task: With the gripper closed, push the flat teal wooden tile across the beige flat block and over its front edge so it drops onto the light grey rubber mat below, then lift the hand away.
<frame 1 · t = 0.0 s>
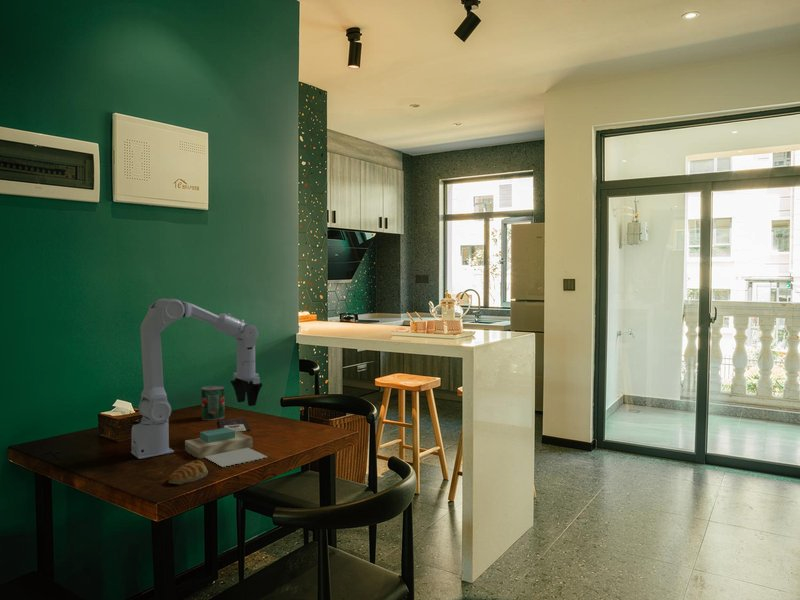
hand: (246, 403, 178), 10 cm above the table, tool pointing down, fingers open, 7 cm apart
beige flat block: (219, 449, 163), on the table
canned tomato: (213, 418, 203), on the table
mat: (235, 457, 155), on the table
pastry: (188, 480, 139), on the table
tile: (217, 434, 164), point 4 cm above the table, touching beige flat block
chocolate bar: (233, 428, 191), on the table
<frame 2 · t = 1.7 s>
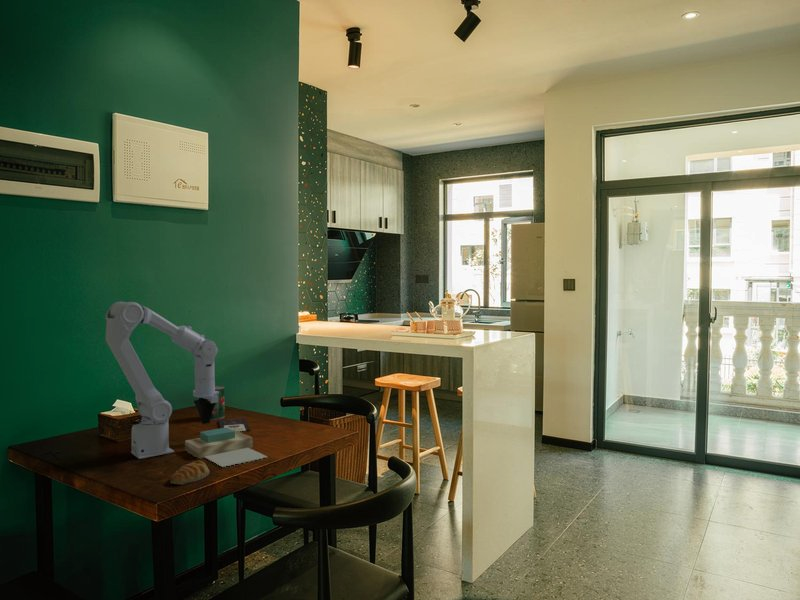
hand: (205, 423, 171), 6 cm above the table, tool pointing down, fingers closed
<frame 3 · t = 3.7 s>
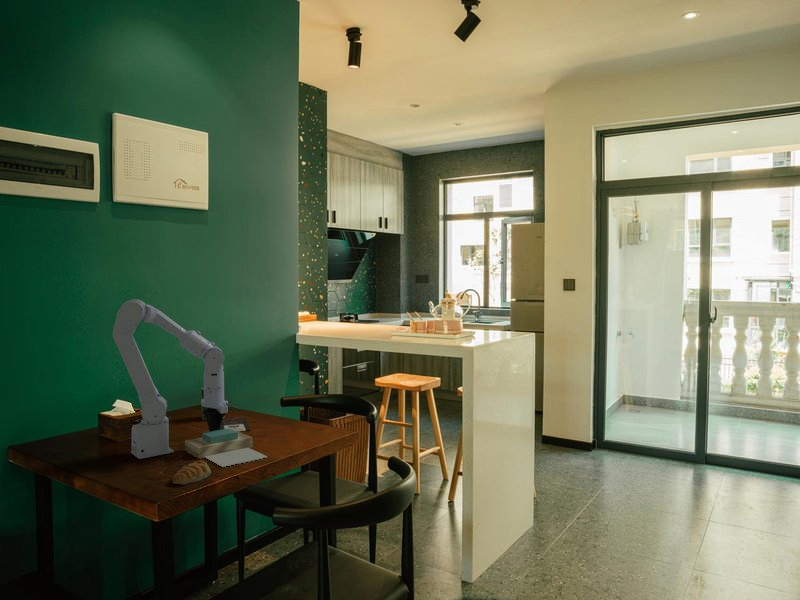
hand: (214, 433, 166), 4 cm above the table, tool pointing down, fingers closed
tile: (220, 436, 163), point 4 cm above the table, touching beige flat block, gripper
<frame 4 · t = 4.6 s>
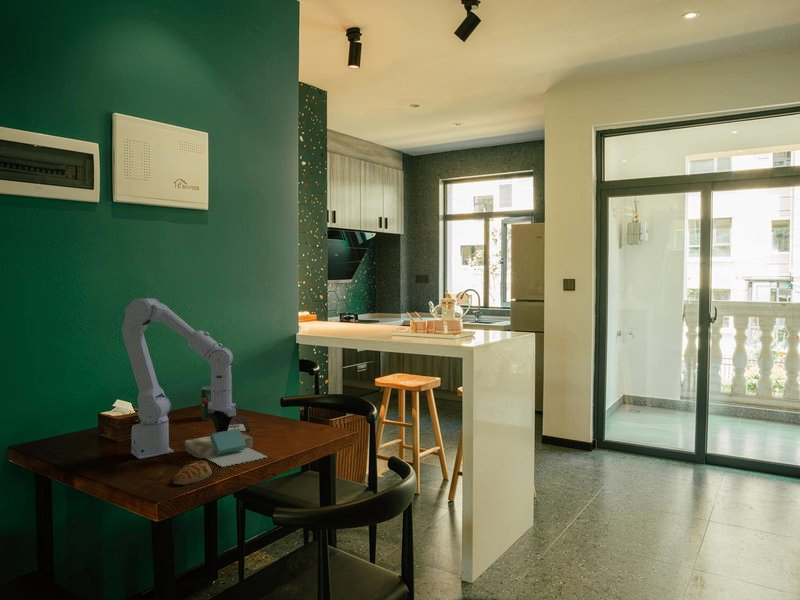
hand: (221, 437, 162), 4 cm above the table, tool pointing down, fingers closed
tile: (228, 441, 159), point 3 cm above the table, tilted 38°, touching beige flat block
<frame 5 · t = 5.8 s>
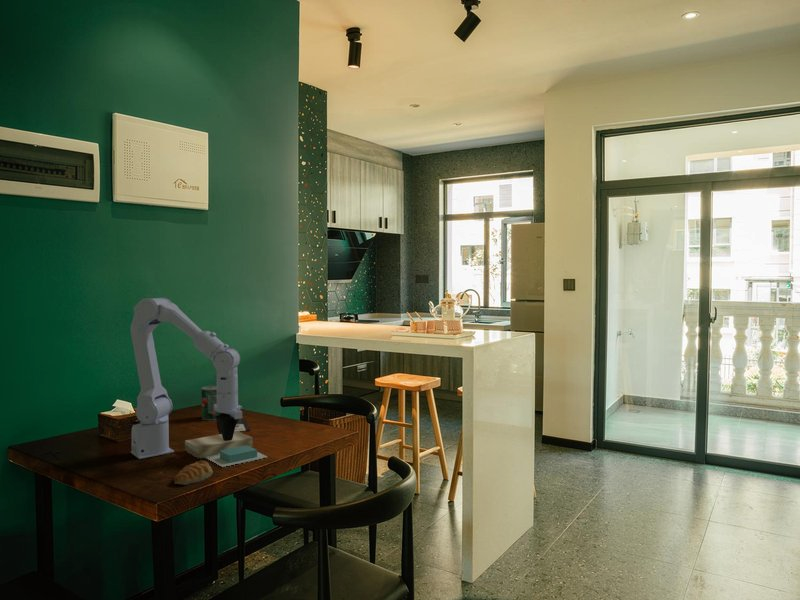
hand: (227, 440, 159), 4 cm above the table, tool pointing down, fingers closed
tile: (238, 453, 154), point 1 cm above the table, tilted 180°, touching mat
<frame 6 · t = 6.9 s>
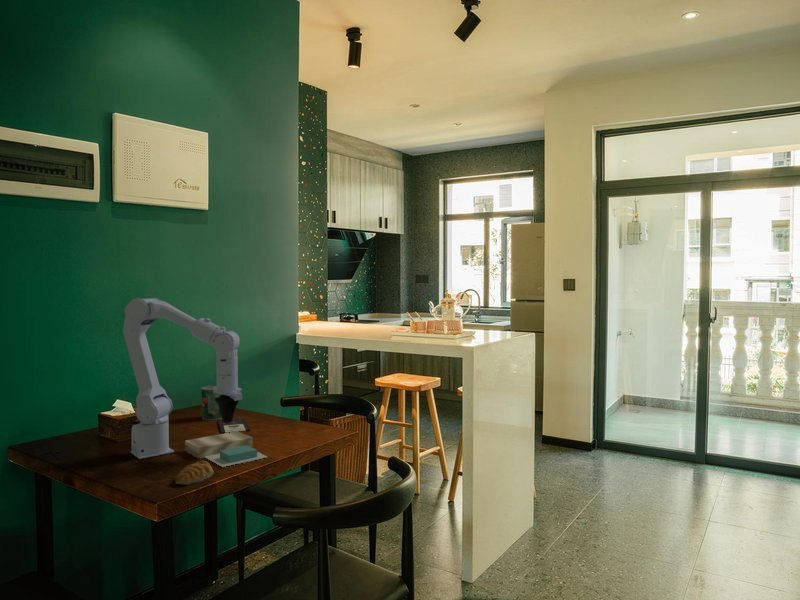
hand: (227, 422, 159), 9 cm above the table, tool pointing down, fingers closed
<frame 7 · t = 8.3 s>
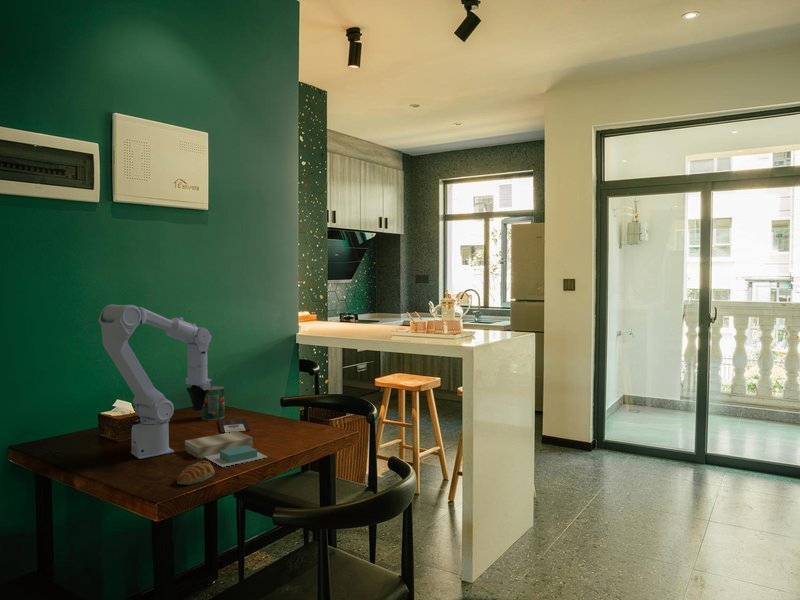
hand: (198, 410, 172), 9 cm above the table, tool pointing down, fingers closed
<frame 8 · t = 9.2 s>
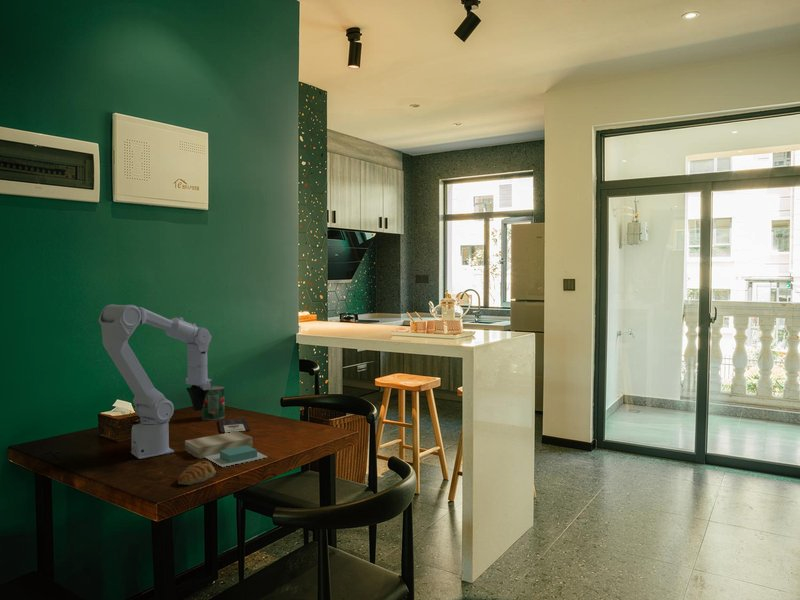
hand: (198, 410, 172), 9 cm above the table, tool pointing down, fingers closed
at the end: tile inside the target area (1.3 cm from its centre), point 1.4 cm above the table; tile touching mat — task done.
